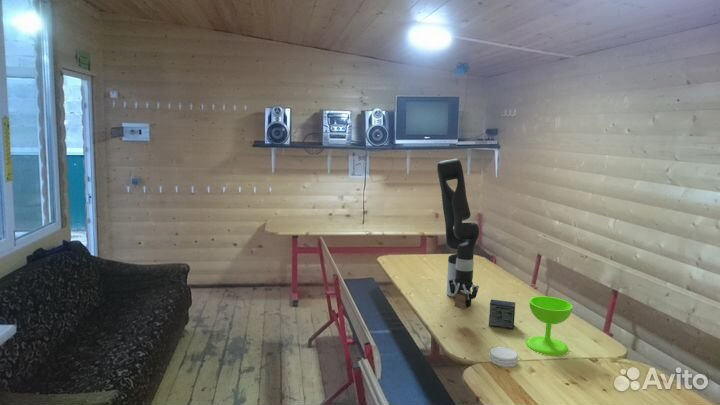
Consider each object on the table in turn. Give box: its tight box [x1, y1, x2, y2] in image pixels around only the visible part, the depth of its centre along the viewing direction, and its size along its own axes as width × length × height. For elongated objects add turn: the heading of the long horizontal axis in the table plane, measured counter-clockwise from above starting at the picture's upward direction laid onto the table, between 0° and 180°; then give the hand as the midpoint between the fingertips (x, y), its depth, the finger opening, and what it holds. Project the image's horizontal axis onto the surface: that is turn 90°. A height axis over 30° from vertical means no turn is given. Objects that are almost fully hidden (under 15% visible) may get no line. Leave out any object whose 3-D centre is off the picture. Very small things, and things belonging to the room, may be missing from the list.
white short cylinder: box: [489, 346, 519, 368], centre depth 183 cm, size 10×10×4 cm
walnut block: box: [454, 291, 470, 310], centre depth 217 cm, size 5×5×6 cm
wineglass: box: [525, 295, 574, 357], centre depth 195 cm, size 16×16×18 cm
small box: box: [488, 299, 516, 331], centre depth 216 cm, size 11×6×10 cm, turn 71°
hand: (462, 305), depth 217 cm, fingers closed on walnut block, 5 cm apart
